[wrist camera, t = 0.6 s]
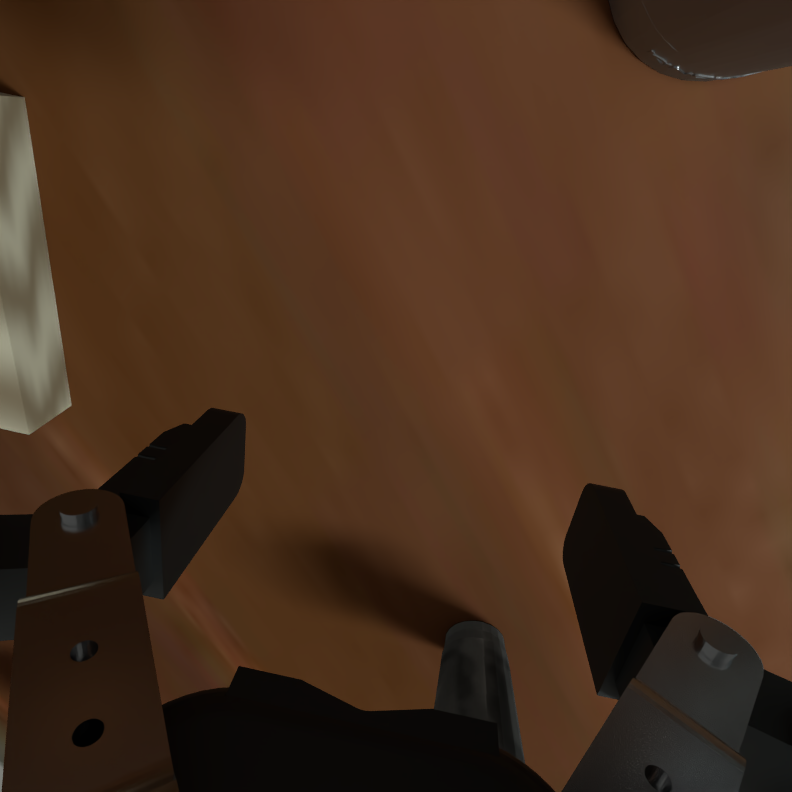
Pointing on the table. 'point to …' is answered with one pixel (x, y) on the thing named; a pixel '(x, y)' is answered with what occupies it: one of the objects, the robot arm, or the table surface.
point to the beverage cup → (479, 681)
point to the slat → (26, 287)
